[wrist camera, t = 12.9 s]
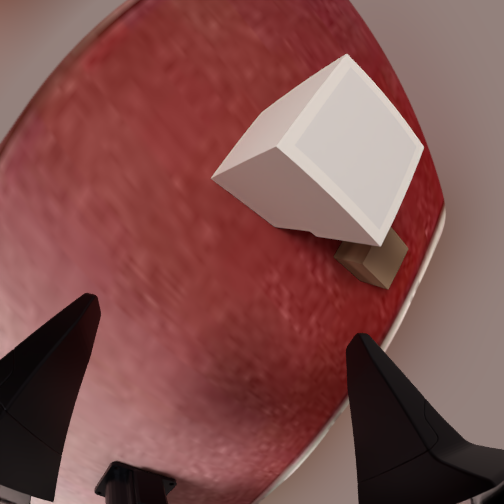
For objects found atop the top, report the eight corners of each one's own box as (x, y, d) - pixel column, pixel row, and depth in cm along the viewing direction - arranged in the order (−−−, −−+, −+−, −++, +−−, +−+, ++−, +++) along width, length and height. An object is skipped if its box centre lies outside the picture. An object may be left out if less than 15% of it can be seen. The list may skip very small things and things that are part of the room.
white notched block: (280, 231, 20) (380, 246, 11) (210, 178, 18) (276, 146, 9) (321, 165, 20) (423, 147, 12) (261, 112, 18) (346, 53, 9)
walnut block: (359, 280, 23) (388, 289, 20) (332, 256, 22) (362, 264, 19) (378, 243, 24) (408, 248, 20) (354, 218, 22) (385, 219, 19)
